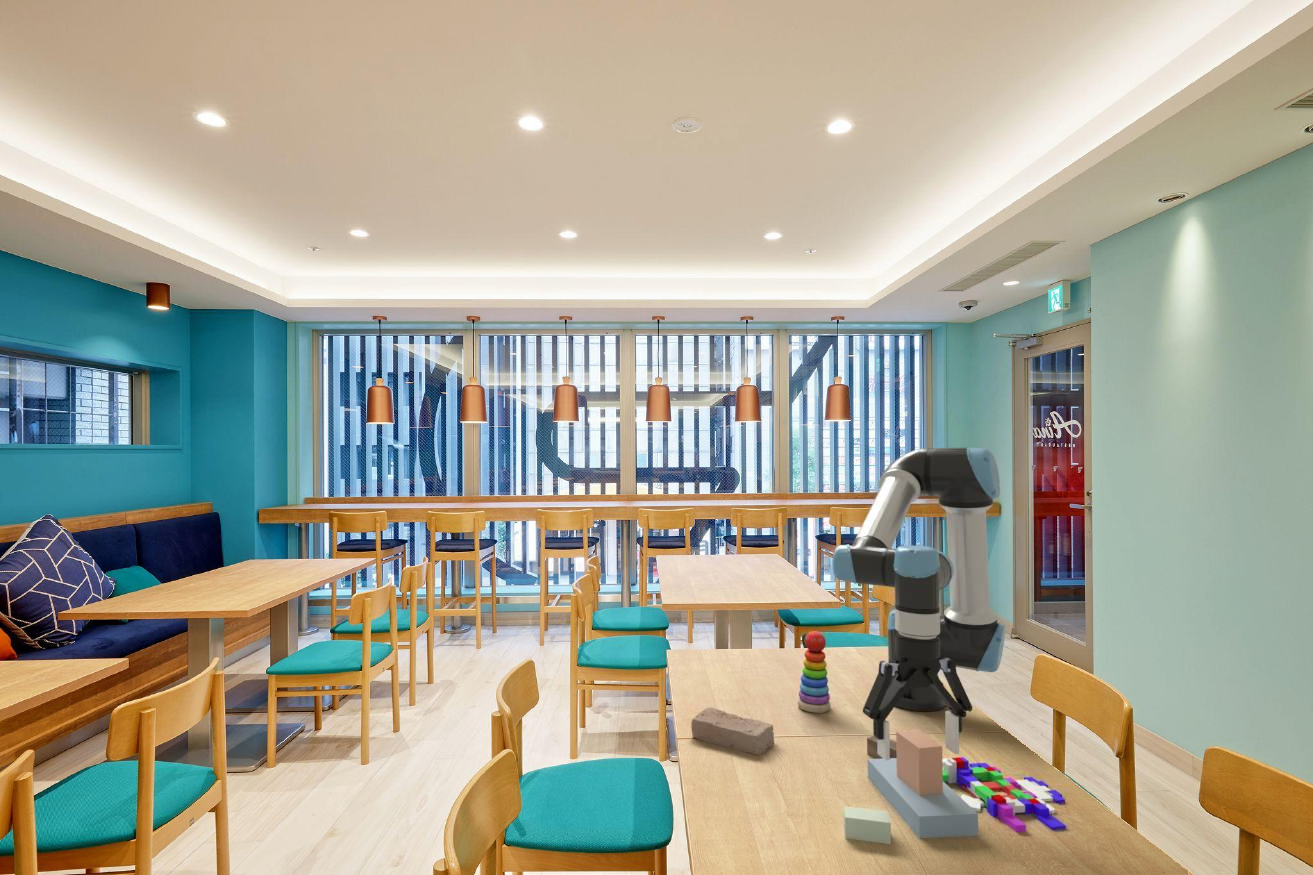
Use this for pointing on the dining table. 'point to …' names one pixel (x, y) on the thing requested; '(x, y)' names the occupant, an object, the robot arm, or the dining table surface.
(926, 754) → the terracotta block
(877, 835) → the sage block
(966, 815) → the base block
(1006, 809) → the building block set
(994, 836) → the dining table surface
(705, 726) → the brick
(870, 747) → the walnut block
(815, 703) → the stacking toy
